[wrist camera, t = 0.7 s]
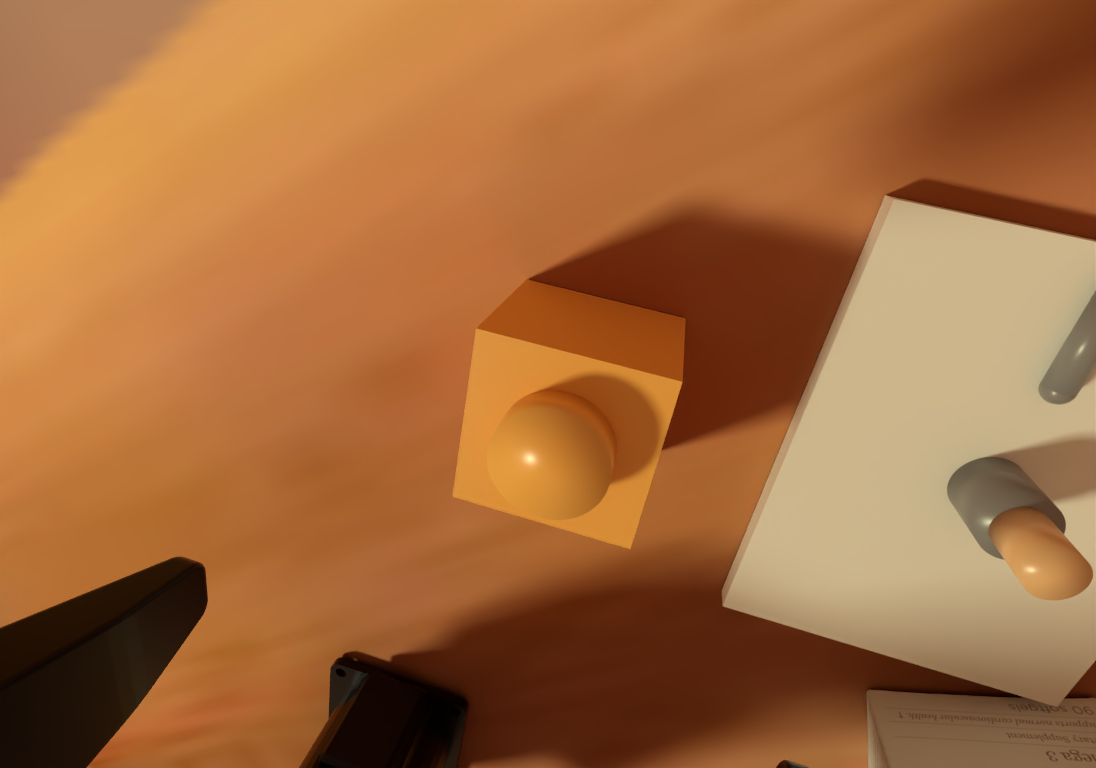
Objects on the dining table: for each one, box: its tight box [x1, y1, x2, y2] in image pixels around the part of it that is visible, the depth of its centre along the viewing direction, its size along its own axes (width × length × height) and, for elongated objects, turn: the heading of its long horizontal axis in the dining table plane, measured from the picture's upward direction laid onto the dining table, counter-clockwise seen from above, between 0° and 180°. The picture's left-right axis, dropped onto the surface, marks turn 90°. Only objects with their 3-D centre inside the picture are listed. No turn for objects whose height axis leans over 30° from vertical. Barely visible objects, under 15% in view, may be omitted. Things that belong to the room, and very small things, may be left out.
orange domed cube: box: [453, 279, 686, 549], centre depth 17 cm, size 5×5×6 cm
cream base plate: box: [722, 195, 1096, 707], centre depth 16 cm, size 14×11×5 cm
